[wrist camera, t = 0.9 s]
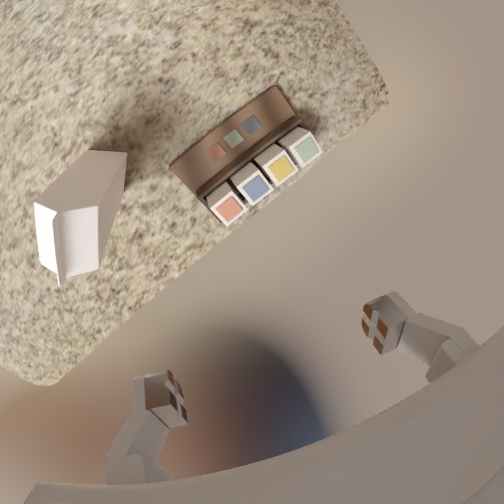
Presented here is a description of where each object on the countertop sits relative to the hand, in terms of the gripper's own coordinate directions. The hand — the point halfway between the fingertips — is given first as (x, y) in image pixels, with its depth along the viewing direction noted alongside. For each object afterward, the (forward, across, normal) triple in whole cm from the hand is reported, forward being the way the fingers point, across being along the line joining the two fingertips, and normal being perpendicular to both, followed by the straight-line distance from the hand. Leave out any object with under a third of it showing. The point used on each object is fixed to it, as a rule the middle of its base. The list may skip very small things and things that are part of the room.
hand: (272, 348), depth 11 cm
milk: (+34, +12, -2) cm, 36 cm away
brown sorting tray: (+33, -7, +2) cm, 34 cm away
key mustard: (+30, -10, +2) cm, 31 cm away
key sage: (+30, -13, +1) cm, 32 cm away
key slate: (+30, -6, +4) cm, 31 cm away
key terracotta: (+30, -2, +6) cm, 30 cm away
